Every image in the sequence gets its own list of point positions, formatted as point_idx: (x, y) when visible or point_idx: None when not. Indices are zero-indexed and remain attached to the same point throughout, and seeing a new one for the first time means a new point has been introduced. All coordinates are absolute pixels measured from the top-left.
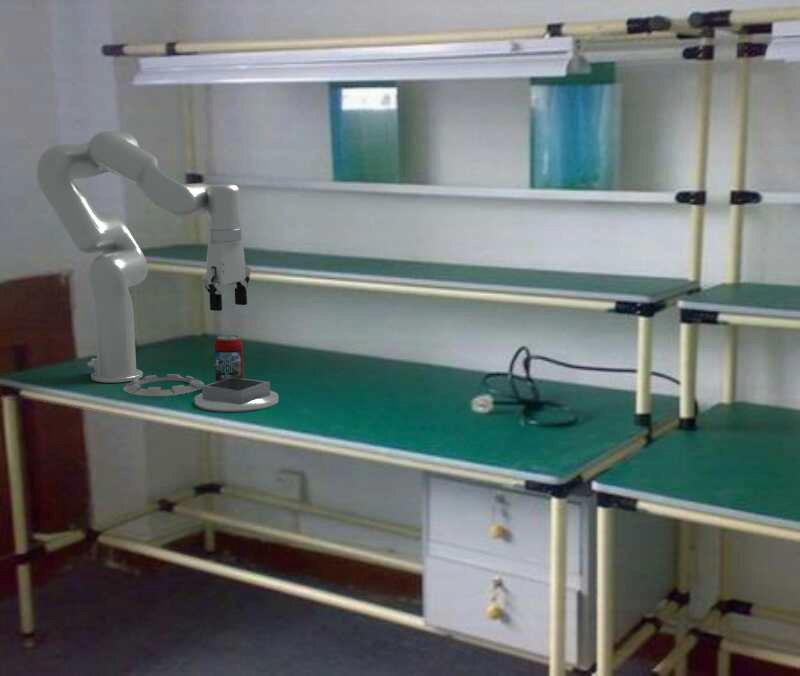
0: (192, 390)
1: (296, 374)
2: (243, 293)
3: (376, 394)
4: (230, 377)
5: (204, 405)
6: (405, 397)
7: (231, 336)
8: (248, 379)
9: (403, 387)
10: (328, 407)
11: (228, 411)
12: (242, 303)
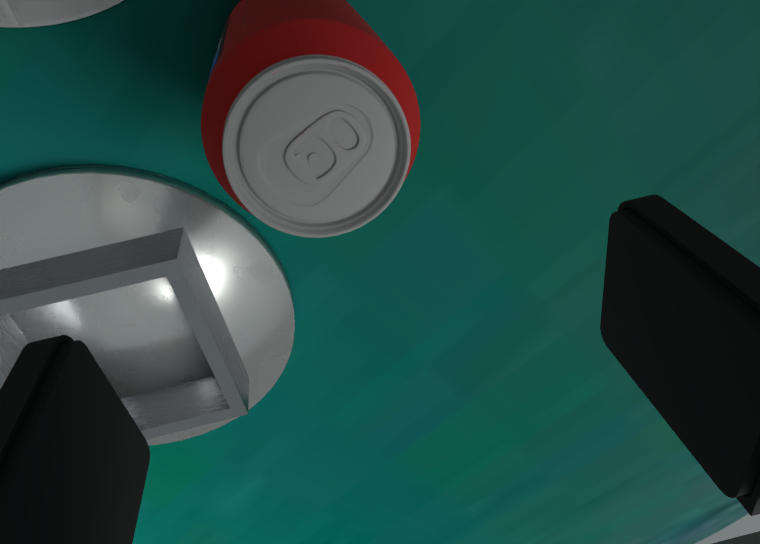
0: (45, 13)
1: (646, 123)
2: (693, 437)
3: (503, 471)
4: (165, 262)
5: None
6: (511, 517)
7: (380, 123)
8: (208, 340)
9: (605, 458)
10: (311, 499)
11: None
12: (608, 318)
